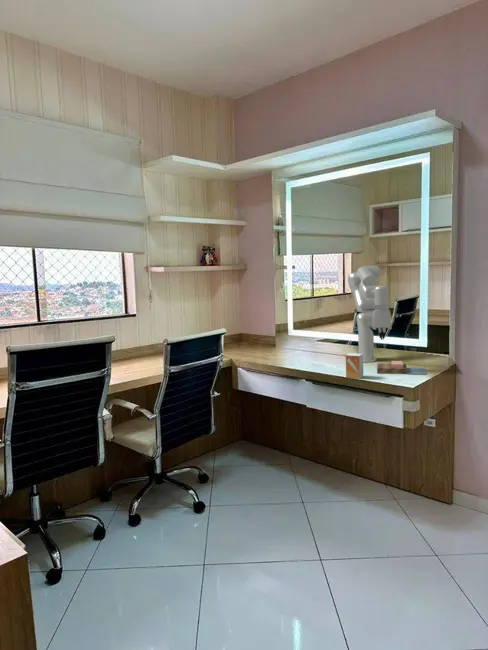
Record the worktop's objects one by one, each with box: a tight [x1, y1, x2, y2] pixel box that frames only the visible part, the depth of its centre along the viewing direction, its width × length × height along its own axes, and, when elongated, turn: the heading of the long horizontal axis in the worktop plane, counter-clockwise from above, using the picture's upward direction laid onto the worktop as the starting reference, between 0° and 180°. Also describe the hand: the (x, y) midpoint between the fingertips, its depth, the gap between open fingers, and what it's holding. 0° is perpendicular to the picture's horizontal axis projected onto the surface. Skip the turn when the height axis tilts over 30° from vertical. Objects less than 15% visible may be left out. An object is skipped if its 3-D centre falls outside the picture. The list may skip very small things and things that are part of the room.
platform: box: [376, 362, 408, 375], centre depth 252 cm, size 16×13×3 cm
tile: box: [390, 360, 404, 368], centre depth 251 cm, size 6×9×2 cm, turn 163°
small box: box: [345, 352, 364, 380], centre depth 243 cm, size 8×6×13 cm
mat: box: [406, 367, 427, 376], centre depth 248 cm, size 10×15×1 cm, turn 163°
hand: (382, 339), depth 251 cm, fingers closed
